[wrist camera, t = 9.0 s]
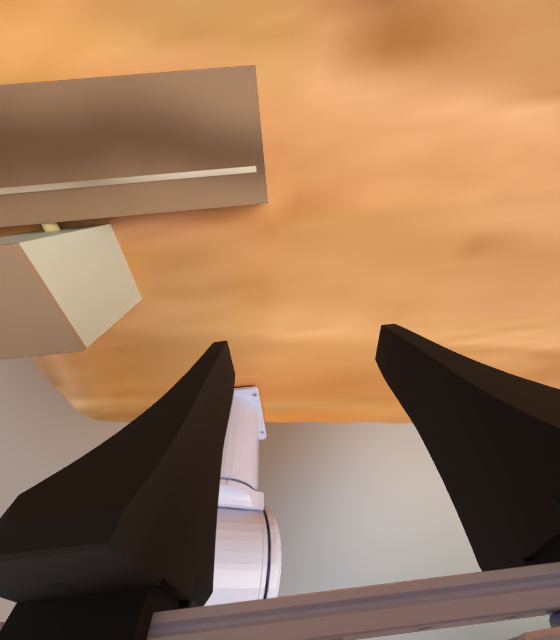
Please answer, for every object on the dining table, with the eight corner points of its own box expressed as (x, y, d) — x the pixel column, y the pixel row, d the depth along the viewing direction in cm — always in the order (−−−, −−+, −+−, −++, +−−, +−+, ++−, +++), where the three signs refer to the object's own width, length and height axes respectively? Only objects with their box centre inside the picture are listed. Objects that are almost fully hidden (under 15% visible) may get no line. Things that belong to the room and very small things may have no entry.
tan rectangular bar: (267, 201, 16) (267, 203, 14) (-15, 227, 16) (-62, 232, 13) (256, 86, 13) (254, 64, 11) (-94, 114, 13) (-171, 97, 10)
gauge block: (142, 298, 19) (83, 351, 13) (83, 304, 19) (-5, 360, 13) (107, 216, 16) (4, 232, 10) (36, 222, 16) (-115, 242, 9)
